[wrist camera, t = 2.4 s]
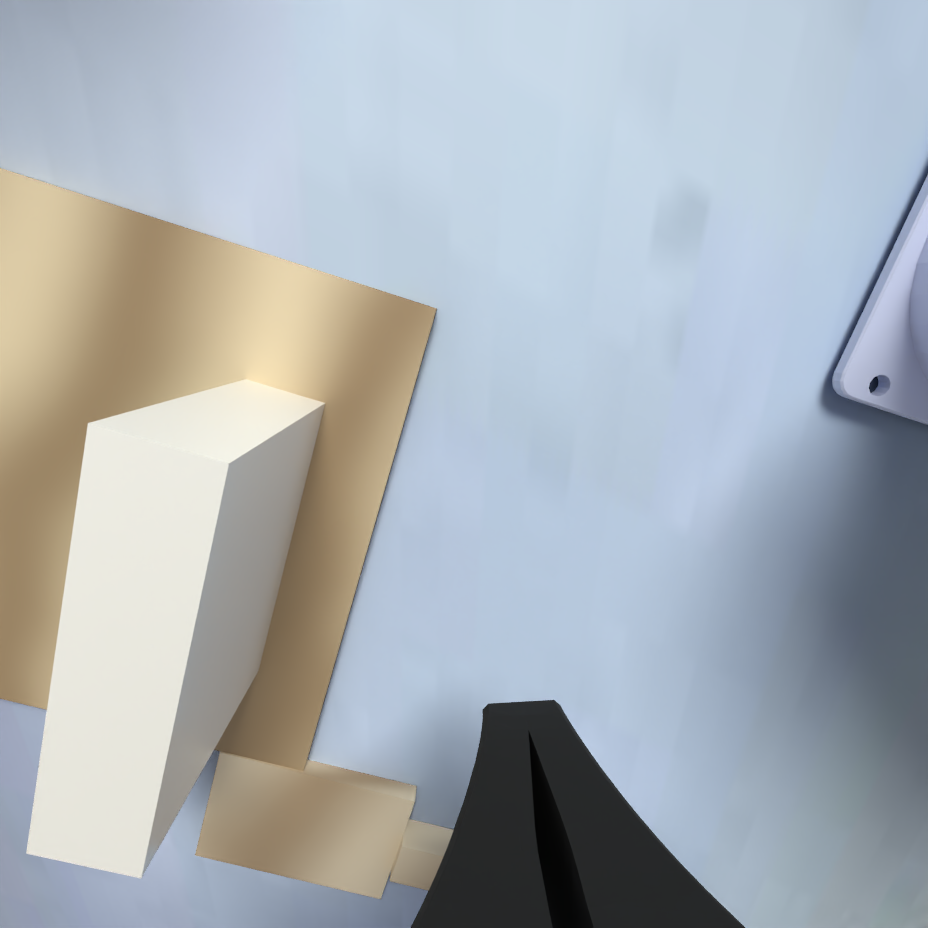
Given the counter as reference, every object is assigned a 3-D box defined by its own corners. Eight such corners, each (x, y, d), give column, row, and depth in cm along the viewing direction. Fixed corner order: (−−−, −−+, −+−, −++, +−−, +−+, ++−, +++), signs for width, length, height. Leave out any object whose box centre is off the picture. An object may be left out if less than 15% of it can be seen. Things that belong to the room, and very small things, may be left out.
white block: (325, 402, 14) (229, 463, 8) (258, 671, 16) (141, 878, 10) (241, 377, 14) (80, 421, 8) (184, 652, 15) (20, 852, 10)
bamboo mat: (436, 308, 14) (436, 308, 13) (306, 760, 17) (303, 771, 16) (-257, 85, 12) (-280, 77, 12) (-250, 626, 15) (-269, 634, 15)
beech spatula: (624, 838, 18) (634, 868, 17) (581, 928, 19) (588, 961, 18) (228, 737, 17) (213, 762, 16) (203, 838, 18) (188, 867, 17)
